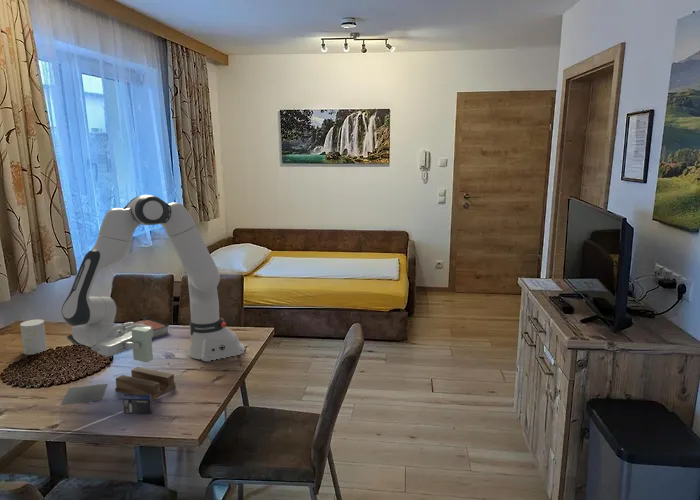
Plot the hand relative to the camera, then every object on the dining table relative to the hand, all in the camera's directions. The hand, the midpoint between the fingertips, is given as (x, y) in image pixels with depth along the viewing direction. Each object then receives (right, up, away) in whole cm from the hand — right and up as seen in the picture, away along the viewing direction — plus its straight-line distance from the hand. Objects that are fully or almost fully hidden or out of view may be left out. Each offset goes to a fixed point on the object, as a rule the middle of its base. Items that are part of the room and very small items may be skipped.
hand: (144, 343), depth 165 cm
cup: (-59, -10, +34) cm, 69 cm away
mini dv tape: (+3, -20, -12) cm, 23 cm away
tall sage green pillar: (-1, -6, +1) cm, 6 cm away
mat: (-19, -17, -1) cm, 26 cm away
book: (-26, -8, +50) cm, 57 cm away
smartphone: (-48, -8, +47) cm, 68 cm away
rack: (-1, -16, +4) cm, 17 cm away
